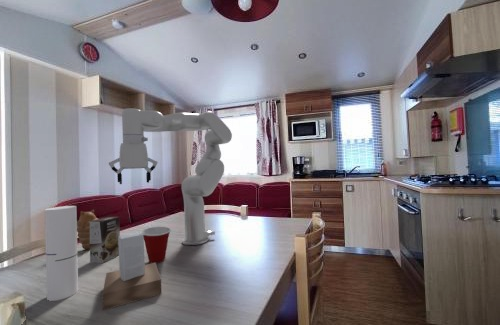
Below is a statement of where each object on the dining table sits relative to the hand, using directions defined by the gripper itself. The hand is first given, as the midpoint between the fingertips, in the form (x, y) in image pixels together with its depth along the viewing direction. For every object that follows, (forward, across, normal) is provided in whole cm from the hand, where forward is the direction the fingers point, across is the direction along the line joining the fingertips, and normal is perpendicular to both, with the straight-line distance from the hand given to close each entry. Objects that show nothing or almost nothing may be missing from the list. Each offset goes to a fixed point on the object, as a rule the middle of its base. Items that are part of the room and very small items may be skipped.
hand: (134, 183), depth 92 cm
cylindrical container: (+31, +20, +16) cm, 40 cm away
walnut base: (+30, +2, +25) cm, 39 cm away
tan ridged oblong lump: (+31, +19, -28) cm, 46 cm away
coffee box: (+31, +11, -10) cm, 34 cm away
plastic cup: (+31, -7, +5) cm, 32 cm away
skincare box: (+26, +2, +25) cm, 36 cm away
